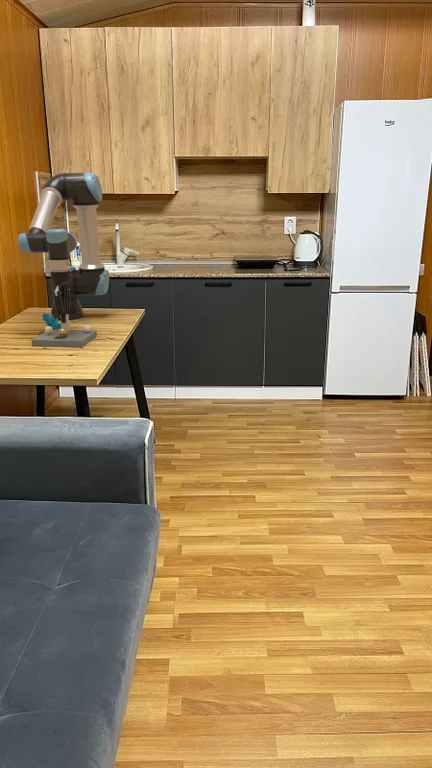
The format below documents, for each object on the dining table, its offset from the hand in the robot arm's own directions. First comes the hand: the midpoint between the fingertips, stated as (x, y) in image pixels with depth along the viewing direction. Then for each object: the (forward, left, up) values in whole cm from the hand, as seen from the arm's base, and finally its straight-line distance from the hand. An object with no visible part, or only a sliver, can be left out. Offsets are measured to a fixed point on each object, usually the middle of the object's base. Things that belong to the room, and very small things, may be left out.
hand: (65, 330), depth 224 cm
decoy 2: (-4, +7, 0) cm, 8 cm away
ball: (+3, 0, 0) cm, 3 cm away
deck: (+1, 0, -4) cm, 4 cm away
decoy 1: (0, -7, 0) cm, 7 cm away
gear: (-17, -13, -4) cm, 22 cm away
